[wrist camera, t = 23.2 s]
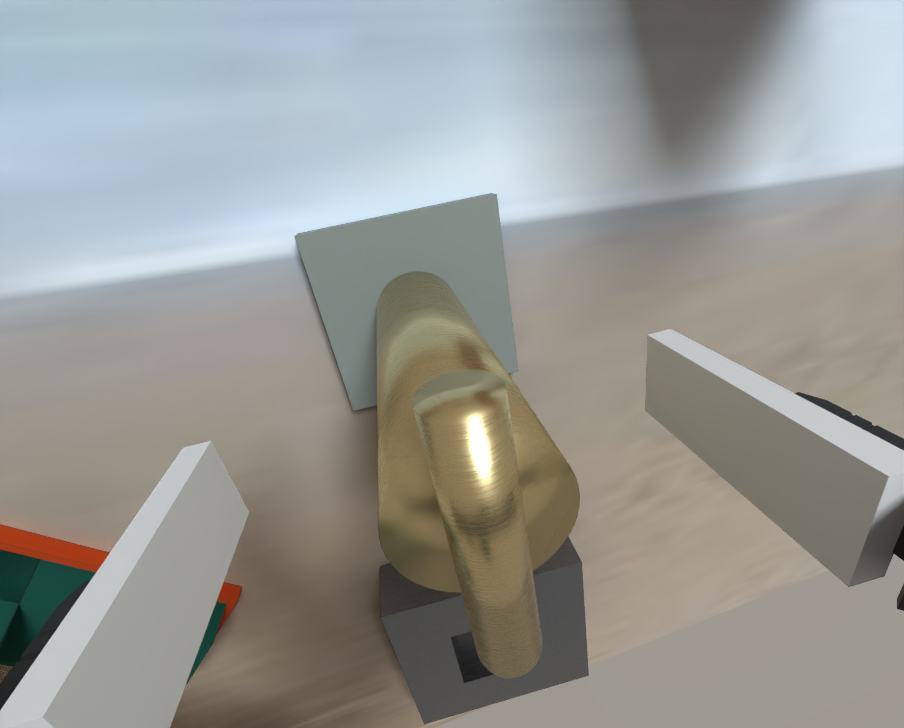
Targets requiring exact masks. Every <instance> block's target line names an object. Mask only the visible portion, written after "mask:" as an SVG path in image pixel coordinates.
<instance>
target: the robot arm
mask: <svg viewBox="0 0 904 728" xmlns="http://www.w3.org/2000/svg"><path fill="white" fill-rule="evenodd" d="M645 411H647V412H648V413H649V414H650V415H651V416H652V417H654V418H655V419H656V420H657V421H658V422H659V423H660V424H662V425H663V426H664V427H665V428H666V429H667V430H668V431H670V432H671V433H672V434H673V435H674V436H675V437H677V438H678V439H679V440H680V441H681V442H682V443H683V444H685V445H686V446H687V447H688V448H689V449H690V450H691V451H693V452H694V453H695V454H696V455H697V456H698V457H700V458H701V459H702V460H703V461H704V462H705V463H706V464H708V465H709V466H710V467H711V468H712V469H713V470H714V471H716V472H717V473H718V474H719V475H720V476H721V477H723V478H724V479H725V480H726V481H727V482H728V483H729V484H731V485H732V486H733V487H734V488H735V489H736V490H737V491H739V492H740V493H741V494H742V495H743V496H744V497H746V498H747V499H748V500H749V501H750V502H751V503H752V504H754V505H755V506H756V507H757V508H758V509H759V510H760V511H762V512H763V513H764V514H765V515H766V516H767V517H769V518H770V519H771V520H772V521H773V522H774V523H775V524H777V525H778V526H779V527H780V528H781V529H782V530H783V531H785V532H786V533H787V534H788V535H789V536H790V537H792V538H793V539H794V540H795V541H796V542H797V543H798V544H800V545H801V546H802V547H803V548H804V549H805V550H807V551H808V552H809V553H810V554H811V555H812V556H813V557H815V558H816V559H817V560H818V561H819V562H820V563H821V564H823V565H824V566H825V567H826V568H827V569H828V570H830V571H831V572H832V573H833V574H834V575H835V576H836V577H838V578H839V579H840V580H841V581H842V582H843V583H844V584H846V585H847V586H848V587H850V586H854V585H857V584H860V583H863V582H867V581H870V580H873V579H877V578H880V577H883V576H885V573H886V571H887V569H888V566H889V564H890V561H891V559H892V556H893V554H895V555H897V556H898V557H899V558H901V559H902V560H904V439H903V438H901V437H899V436H897V435H895V434H893V433H891V432H889V431H887V430H885V429H883V428H881V427H879V426H873V425H872V423H871V422H869V421H867V420H865V419H863V418H861V417H859V416H857V415H855V416H853V415H852V414H851V412H849V411H847V410H845V409H843V408H841V407H839V406H837V405H835V404H833V403H831V402H829V401H827V400H823V399H820V398H817V397H813V396H810V395H806V394H803V393H800V392H798V393H792V392H790V391H788V390H787V389H785V388H783V387H781V386H779V385H777V384H775V383H773V382H771V381H769V380H767V379H765V378H764V377H762V376H760V375H758V374H756V373H754V372H752V371H750V370H748V369H746V368H744V367H742V366H741V365H739V364H737V363H735V362H733V361H731V360H729V359H727V358H725V357H723V356H721V355H719V354H718V353H716V352H714V351H712V350H710V349H708V348H706V347H704V346H702V345H700V344H698V343H696V342H695V341H693V340H691V339H689V338H687V337H685V336H683V335H681V334H679V333H677V332H675V331H673V330H672V329H669V330H665V331H661V332H657V333H653V334H649V335H647V365H646V399H645ZM248 514H249V511H248V509H247V507H246V505H245V504H244V502H243V500H242V498H241V496H240V494H239V492H238V490H237V489H236V487H235V485H234V483H233V481H232V479H231V477H230V475H229V474H228V472H227V470H226V468H225V466H224V464H223V462H222V461H221V459H220V457H219V455H218V453H217V451H216V449H215V447H214V446H213V444H212V442H211V441H209V442H205V443H201V444H196V445H192V446H188V447H184V448H183V449H182V450H181V452H180V453H179V454H178V456H177V457H176V459H175V460H174V462H173V463H172V465H171V466H170V467H169V469H168V470H167V472H166V473H165V475H164V476H163V477H162V479H161V480H160V482H159V483H158V485H157V486H156V488H155V489H154V490H153V492H152V493H151V495H150V496H149V498H148V499H147V500H146V502H145V503H144V505H143V506H142V508H141V509H140V510H139V512H138V513H137V515H136V516H135V518H134V519H133V521H132V522H131V523H130V525H129V526H128V528H127V529H126V531H125V532H124V533H123V535H122V536H121V538H120V539H119V541H118V542H117V543H116V545H115V546H114V548H113V549H112V551H111V552H110V554H109V555H108V556H107V558H106V559H105V561H104V562H103V564H102V565H101V566H100V568H99V569H98V571H97V572H96V574H95V575H94V577H93V578H92V579H91V580H87V581H84V582H83V583H82V584H80V585H79V586H78V587H77V588H76V589H75V590H74V591H73V592H72V593H71V594H70V595H69V596H68V597H67V598H66V599H65V600H64V601H63V602H61V603H60V604H59V605H58V606H57V607H56V609H55V610H54V612H53V613H52V614H51V616H50V617H49V618H48V620H47V621H46V622H45V624H44V625H43V627H42V628H41V629H40V631H39V632H38V633H37V634H38V637H37V638H36V639H33V640H32V642H31V643H30V644H29V646H28V647H27V648H26V650H25V651H24V653H23V654H22V655H21V660H20V662H17V663H15V665H14V666H13V668H12V669H11V670H10V672H9V673H8V674H7V676H6V677H5V678H4V680H3V681H2V683H1V684H0V728H170V726H171V723H172V721H173V718H174V715H175V713H176V710H177V707H178V704H179V702H180V699H181V696H182V694H183V691H184V688H185V685H186V683H187V680H188V677H189V675H190V672H191V669H192V666H193V664H194V661H195V658H196V656H197V653H198V650H199V647H200V645H201V642H202V639H203V637H204V634H205V631H206V628H207V626H208V623H209V620H210V618H211V615H212V612H213V609H214V607H215V604H216V601H217V599H218V596H219V593H220V590H221V588H222V585H223V582H224V580H225V577H226V574H227V571H228V569H229V566H230V563H231V561H232V558H233V555H234V552H235V550H236V547H237V544H238V542H239V539H240V536H241V533H242V531H243V528H244V525H245V523H246V520H247V517H248ZM897 609H900V610H903V611H904V585H903V587H902V589H901V591H900V594H899V596H898V598H897Z"/></svg>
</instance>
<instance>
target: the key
mask: <svg viewBox="0 0 904 728" xmlns="http://www.w3.org/2000/svg"><path fill="white" fill-rule="evenodd" d="M376 316H377V429H378V529H379V539H380V543H381V547H382V550H383V552H384V554H385V556H386V558H387V559H388V561H389V562H390V563H391V565H392V566H393V567H394V568H395V569H396V570H397V571H398V572H399V573H400V574H402V575H403V576H404V577H406V578H407V579H409V580H411V581H413V582H414V583H416V584H419V585H421V586H424V587H427V588H430V589H434V590H439V591H446V592H461V593H462V597H463V601H464V605H465V609H466V612H467V616H468V620H469V624H470V628H471V632H472V635H473V639H474V643H475V647H476V651H477V654H478V657H479V659H480V661H481V663H482V664H483V665H484V667H485V668H486V669H487V670H488V671H490V672H491V673H493V674H494V675H496V676H499V677H503V678H517V677H520V676H523V675H525V674H527V673H528V672H529V671H531V670H532V669H533V668H534V667H535V665H536V664H537V662H538V660H539V658H540V656H541V652H542V635H541V628H540V621H539V613H538V606H537V599H536V592H535V585H534V578H533V570H535V569H536V568H538V567H539V566H541V565H542V564H543V563H544V562H546V561H547V560H548V559H549V558H550V557H551V556H552V555H553V554H554V553H555V552H556V551H557V550H558V549H559V548H560V547H561V545H562V544H563V543H564V542H565V540H566V539H567V537H568V536H569V534H570V532H571V530H572V528H573V526H574V524H575V521H576V518H577V515H578V510H579V504H580V493H579V487H578V483H577V480H576V477H575V474H574V473H573V471H572V469H571V467H570V466H569V464H568V463H567V461H566V460H565V458H564V457H563V455H562V454H561V452H560V451H559V449H558V448H557V446H556V445H555V443H554V442H553V440H552V439H551V437H550V436H549V434H548V433H547V431H546V430H545V428H544V427H543V425H542V424H541V422H540V420H539V419H538V417H537V416H536V414H535V413H534V411H533V410H532V408H531V407H530V405H529V404H528V402H527V401H526V399H525V398H524V396H523V395H522V393H521V392H520V390H519V389H518V387H517V386H516V384H515V383H514V381H513V380H512V378H511V377H510V375H509V374H508V372H507V371H506V369H505V368H504V366H503V365H502V363H501V362H500V360H499V359H498V357H497V356H496V354H495V353H494V351H493V350H492V348H491V347H490V345H489V344H488V342H487V341H486V339H485V338H484V336H483V335H482V333H481V332H480V330H479V329H478V327H477V326H476V324H475V323H474V321H473V320H472V318H471V317H470V315H469V314H468V312H467V311H466V309H465V308H464V306H463V305H462V303H461V302H460V300H459V299H458V297H457V296H456V294H455V293H454V291H453V290H452V288H451V287H450V286H449V284H448V283H447V282H446V281H444V280H443V279H442V278H440V277H438V276H437V275H434V274H432V273H428V272H423V271H413V272H408V273H404V274H402V275H399V276H398V277H396V278H394V279H393V280H392V281H390V282H389V283H388V284H387V285H386V286H385V288H384V289H383V291H382V292H381V294H380V296H379V299H378V303H377V310H376Z"/></svg>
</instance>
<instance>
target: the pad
mask: <svg viewBox="0 0 904 728" xmlns="http://www.w3.org/2000/svg"><path fill="white" fill-rule="evenodd" d="M295 239H296V242H297V245H298V248H299V251H300V254H301V257H302V260H303V263H304V266H305V269H306V272H307V275H308V278H309V281H310V284H311V287H312V290H313V293H314V296H315V299H316V302H317V305H318V307H319V310H320V313H321V316H322V319H323V322H324V325H325V328H326V331H327V334H328V337H329V340H330V343H331V346H332V349H333V352H334V355H335V358H336V361H337V364H338V367H339V370H340V373H341V376H342V379H343V382H344V385H345V388H346V390H347V393H348V396H349V399H350V402H351V405H352V408H353V411H355V410H359V409H363V408H368V407H372V406H376V405H377V316H376V310H377V303H378V299H379V296H380V294H381V292H382V291H383V289H384V288H385V286H386V285H387V284H388V283H389V282H390V281H392V280H393V279H394V278H396V277H398V276H399V275H402V274H404V273H408V272H413V271H423V272H428V273H432V274H434V275H437V276H438V277H440V278H442V279H443V280H444V281H446V282H447V283H448V284H449V286H450V287H451V288H452V290H453V291H454V293H455V294H456V296H457V297H458V299H459V300H460V302H461V303H462V305H463V306H464V308H465V309H466V311H467V312H468V314H469V315H470V317H471V318H472V320H473V321H474V323H475V324H476V326H477V327H478V329H479V330H480V332H481V333H482V335H483V336H484V338H485V339H486V341H487V342H488V344H489V345H490V347H491V348H492V350H493V351H494V353H495V354H496V356H497V357H498V359H499V360H500V362H501V363H502V365H503V366H504V368H505V369H506V371H507V372H508V374H509V373H513V372H517V371H518V364H517V356H516V348H515V340H514V332H513V323H512V315H511V307H510V299H509V291H508V283H507V275H506V266H505V258H504V250H503V242H502V234H501V226H500V218H499V209H498V201H497V194H493V193H490V194H485V195H481V196H476V197H471V198H466V199H462V200H457V201H452V202H447V203H442V204H438V205H433V206H428V207H423V208H418V209H414V210H409V211H404V212H399V213H394V214H390V215H385V216H380V217H375V218H370V219H366V220H361V221H356V222H351V223H346V224H342V225H337V226H332V227H327V228H322V229H318V230H313V231H308V232H303V233H298V234H297V235H296V236H295Z"/></svg>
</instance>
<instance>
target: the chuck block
mask: <svg viewBox="0 0 904 728" xmlns="http://www.w3.org/2000/svg"><path fill="white" fill-rule="evenodd" d="M533 578H534V585H535V592H536V599H537V606H538V613H539V621H540V628H541V635H542V652H541V656H540V658H539V660H538V662H537V664H536V665H535V667H534V668H533V669H532V670H531V671H529V672H528V673H527V674H525V675H523V676H520V677H517V678H503V677H499V676H496V675H494V674H493V673H491V672H490V671H488V670H487V669H486V668H485V667H484V665H483V664H482V663H481V661H480V659H479V657H478V654H477V651H476V647H475V643H474V639H473V635H472V632H471V628H470V624H469V620H468V616H467V612H466V609H465V605H464V601H463V597H462V593H461V592H446V591H439V590H434V589H430V588H427V587H424V586H421V585H419V584H416V583H414V582H413V581H411V580H409V579H407V578H406V577H404V576H403V575H402V574H400V573H399V572H398V571H397V570H396V569H395V568H394V567H393V566H392V565H391V564H387V565H383V566H380V597H381V620H382V622H383V625H384V627H385V629H386V632H387V634H388V637H389V639H390V642H391V644H392V647H393V649H394V651H395V654H396V656H397V659H398V661H399V664H400V666H401V669H402V671H403V673H404V676H405V678H406V681H407V683H408V686H409V688H410V690H411V693H412V695H413V698H414V700H415V703H416V705H417V708H418V710H419V712H420V715H421V717H422V720H423V722H424V724H427V723H430V722H434V721H437V720H440V719H444V718H447V717H450V716H454V715H457V714H461V713H464V712H467V711H471V710H474V709H477V708H481V707H484V706H487V705H491V704H494V703H498V702H501V701H504V700H508V699H511V698H514V697H517V696H521V695H524V694H528V693H531V692H535V691H538V690H541V689H545V688H548V687H551V686H555V685H558V684H562V683H565V682H568V681H571V680H575V679H579V678H582V677H585V676H588V675H589V674H588V657H587V641H586V624H585V608H584V591H583V575H582V562H581V560H580V558H579V556H578V554H577V552H576V550H575V548H574V546H573V545H572V543H571V541H570V539H569V537H567V539H566V540H565V542H564V543H563V544H562V545H561V547H560V548H559V549H558V550H557V551H556V552H555V553H554V554H553V555H552V556H551V557H550V558H549V559H548V560H547V561H546V562H544V563H543V564H542V565H541V566H539V567H538V568H536V569H535V570H533Z"/></svg>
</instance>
